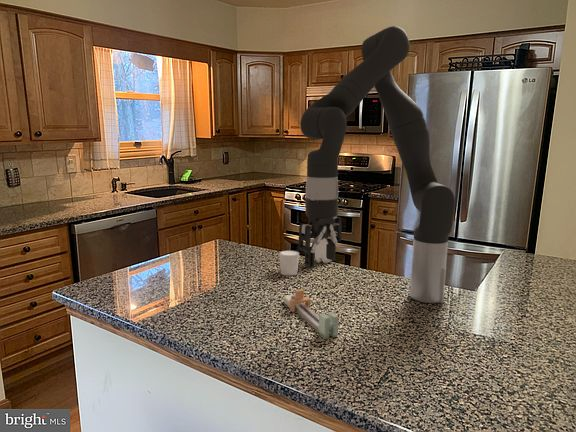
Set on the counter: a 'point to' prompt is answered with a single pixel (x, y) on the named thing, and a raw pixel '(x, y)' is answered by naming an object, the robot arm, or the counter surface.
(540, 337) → the counter surface
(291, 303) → the stepped wooden block
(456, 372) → the counter surface
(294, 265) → the shot glass
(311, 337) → the counter surface
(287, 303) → the block
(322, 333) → the leg
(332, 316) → the leg
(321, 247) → the water bottle
